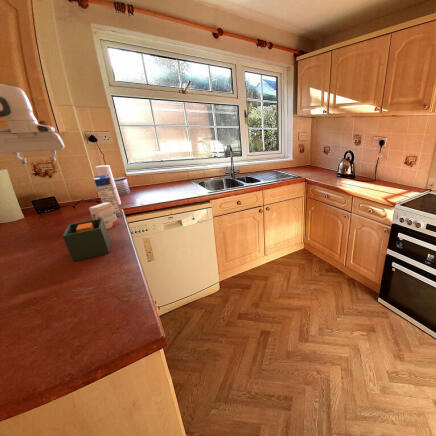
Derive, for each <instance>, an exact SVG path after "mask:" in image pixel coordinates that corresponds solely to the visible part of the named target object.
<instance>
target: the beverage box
mask: <svg viewBox="0 0 436 436" xmlns="http://www.w3.org/2000/svg"><path fill="white" fill-rule="evenodd" d="M93 181H94V185H95V187H96V190H97V192H98V196H99V199H100V201H101V204H102V203H107V202H109V203H112V206H113V209H114V211H115V214H116V217H117V218H118V217H122V216H123V215H122V212H121V209H120V205H118V202H117V199H116V196H115V192H114V189H113V186H112V183H111V180H110V177H109V175H103V176H98V175H96V176H93Z"/></svg>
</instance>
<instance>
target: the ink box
mask: <svg viewBox="0 0 436 436" xmlns="http://www.w3.org/2000/svg"><path fill="white" fill-rule="evenodd" d="M88 210H89V213H90V215H91V218H92V220H95V219H101V218H103V220H104V223H105V226H106V229H107V230H109V229H111V228H113V227H115V226H118V225H119V224H120V223H119V222H120V221H119V220H118V217H116V214H115V211H114V209H113V206H112V203H109V202H107V203H102V202H101V203H99V204H97V205H93V206H90V207H88Z"/></svg>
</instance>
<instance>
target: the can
mask: <svg viewBox="0 0 436 436" xmlns="http://www.w3.org/2000/svg"><path fill="white" fill-rule="evenodd" d="M114 182H115V185H116V188H117V191H118V195H119V197H121V196H125V195H126V196H127V195H129V194H131V189H130V186H129V183H128V180H127V176H122V177H121V176H120V177H115V178H114Z"/></svg>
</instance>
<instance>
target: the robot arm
mask: <svg viewBox="0 0 436 436" xmlns="http://www.w3.org/2000/svg"><path fill="white" fill-rule="evenodd" d="M0 119H5V121H6V123H7V126H8V128H0V153H1V154H12V156H14V157H15V158H16V159H18V160H19V162H20V164H28V161H27V159H26V158H23V157H21V156H20V155H21V154H20V153H30V152H46V151H50V153H51V154H52V155H51V156H49V159H50V162H57V159H56V155H57V151H63V150H64V149H65V148H66V145H65V143H64V141H63V139H62V137H61V135H60V134H59V133H57V132H56V129H55V126H51V125H46V124H43V123H42V124H41V123H39V122H38V119H37V118H36V117H35V114H34V111H33V107H32V103H31V101H30V99H29V98H28V96H27V94H26V92H25V91H24V90H23V89H22V88H21V87H19V86H16V85H14V84H9V83H2V82H0Z"/></svg>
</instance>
